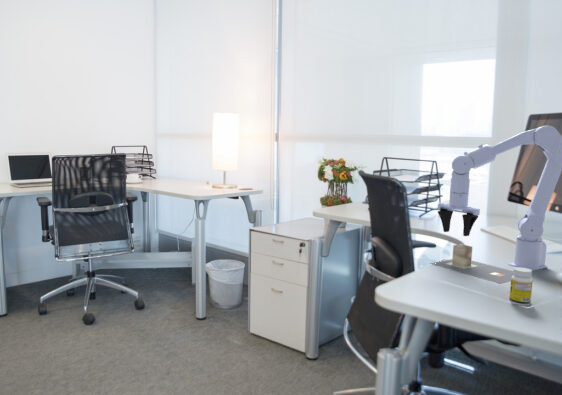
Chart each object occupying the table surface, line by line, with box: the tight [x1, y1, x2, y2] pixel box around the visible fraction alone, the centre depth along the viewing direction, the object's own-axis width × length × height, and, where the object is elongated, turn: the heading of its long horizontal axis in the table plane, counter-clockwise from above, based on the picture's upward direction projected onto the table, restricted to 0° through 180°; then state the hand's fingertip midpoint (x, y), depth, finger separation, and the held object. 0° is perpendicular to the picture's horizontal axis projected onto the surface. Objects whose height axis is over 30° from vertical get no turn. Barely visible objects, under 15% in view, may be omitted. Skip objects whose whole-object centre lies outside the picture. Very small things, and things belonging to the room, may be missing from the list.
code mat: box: [429, 258, 514, 285], centre depth 149 cm, size 16×24×1 cm, turn 35°
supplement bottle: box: [509, 267, 534, 307], centre depth 119 cm, size 5×5×8 cm
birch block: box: [451, 243, 473, 267], centre depth 153 cm, size 4×4×6 cm
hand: (456, 233), depth 162 cm, fingers open, 7 cm apart
